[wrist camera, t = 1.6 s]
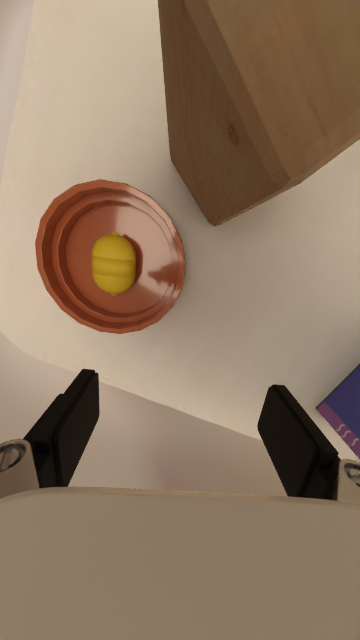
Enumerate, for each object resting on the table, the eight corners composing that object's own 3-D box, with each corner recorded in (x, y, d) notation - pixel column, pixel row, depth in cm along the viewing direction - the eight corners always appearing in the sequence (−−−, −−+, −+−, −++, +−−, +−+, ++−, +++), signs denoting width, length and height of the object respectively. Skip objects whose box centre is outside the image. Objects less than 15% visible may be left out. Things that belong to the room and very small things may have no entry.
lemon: (101, 230, 26) (83, 226, 22) (141, 235, 27) (132, 233, 22) (100, 289, 29) (85, 297, 24) (137, 293, 29) (129, 303, 24)
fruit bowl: (52, 181, 25) (27, 167, 21) (192, 202, 26) (195, 194, 22) (61, 314, 31) (42, 324, 27) (175, 327, 32) (174, 340, 28)
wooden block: (212, 229, 27) (291, 193, 8) (166, 156, 24) (130, -152, 6) (280, 178, 25) (580, -22, 6) (238, 91, 22) (559, -715, 4)
